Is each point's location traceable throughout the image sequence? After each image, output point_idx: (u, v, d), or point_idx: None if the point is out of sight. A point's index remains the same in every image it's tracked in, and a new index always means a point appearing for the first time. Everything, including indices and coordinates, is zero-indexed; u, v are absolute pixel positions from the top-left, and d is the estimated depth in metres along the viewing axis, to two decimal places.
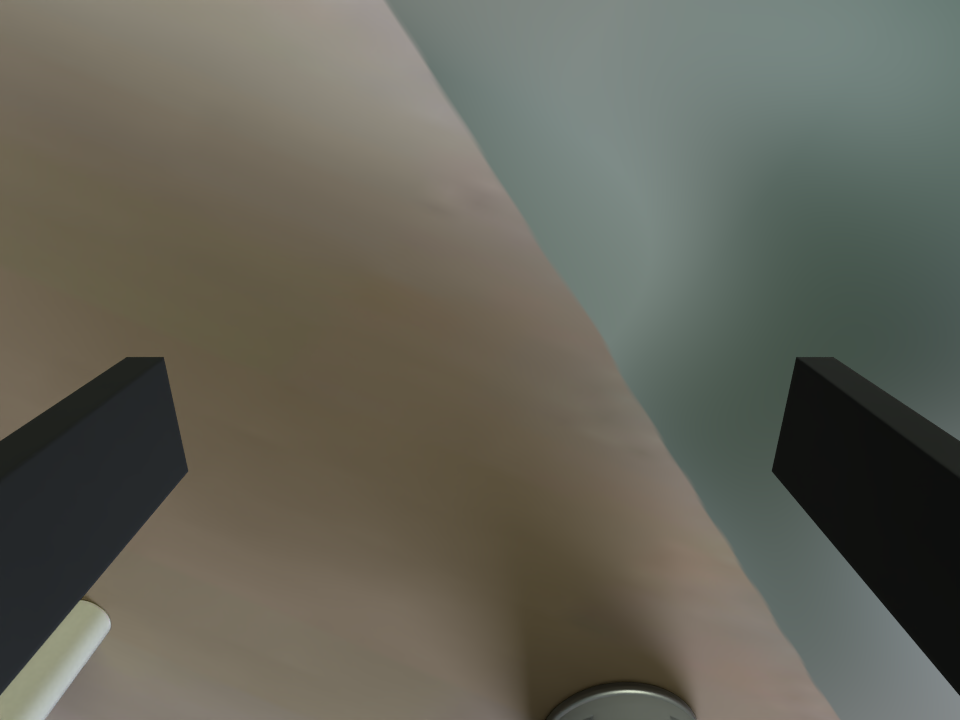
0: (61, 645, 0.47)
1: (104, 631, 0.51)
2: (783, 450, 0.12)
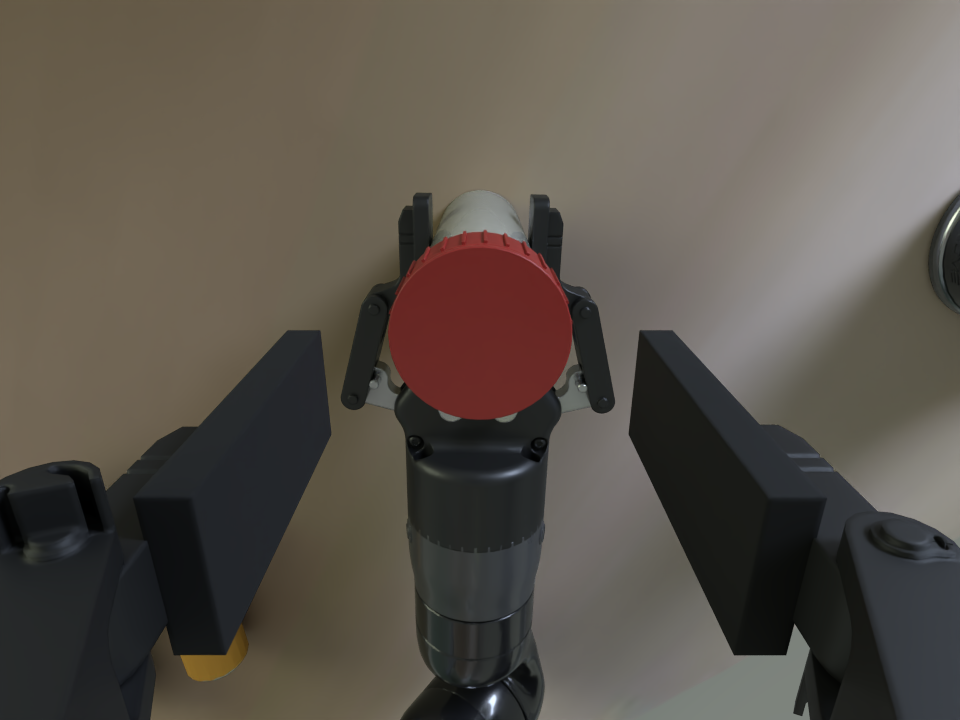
0: (440, 222, 0.29)
1: (483, 192, 0.32)
2: (633, 414, 0.14)
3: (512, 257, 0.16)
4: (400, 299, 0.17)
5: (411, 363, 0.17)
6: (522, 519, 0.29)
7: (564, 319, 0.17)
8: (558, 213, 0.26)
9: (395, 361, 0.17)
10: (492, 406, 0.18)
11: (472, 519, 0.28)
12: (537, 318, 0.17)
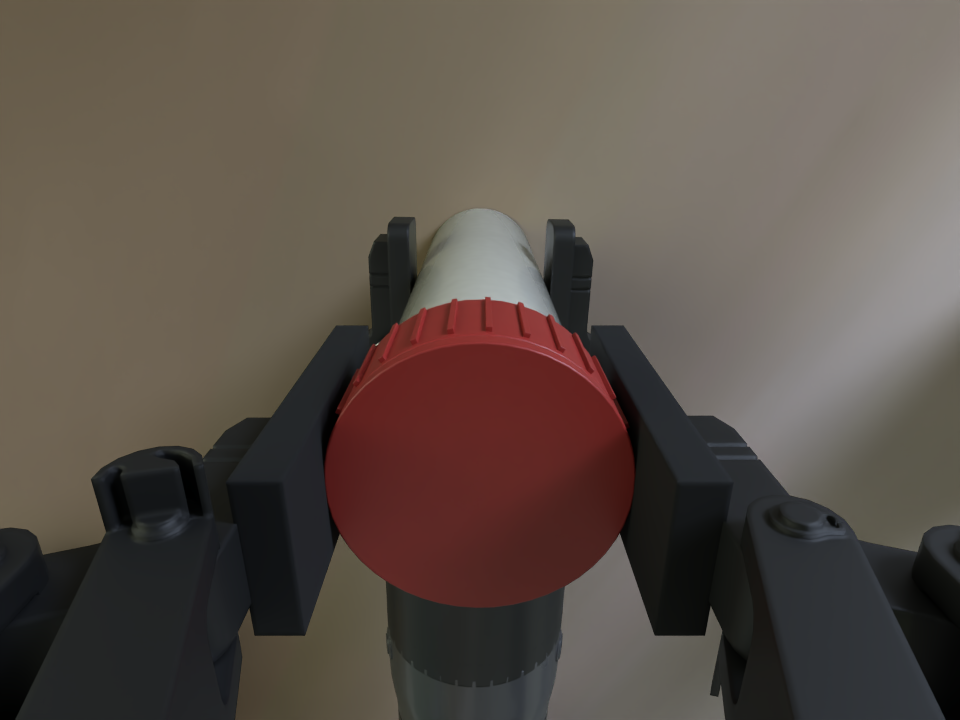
0: (428, 253, 0.22)
1: (483, 211, 0.25)
2: None
3: (536, 360, 0.09)
4: (342, 427, 0.10)
5: (363, 527, 0.10)
6: (535, 642, 0.23)
7: (623, 459, 0.10)
8: (586, 246, 0.19)
9: (337, 523, 0.10)
10: (499, 589, 0.11)
11: (469, 647, 0.22)
12: (577, 457, 0.10)
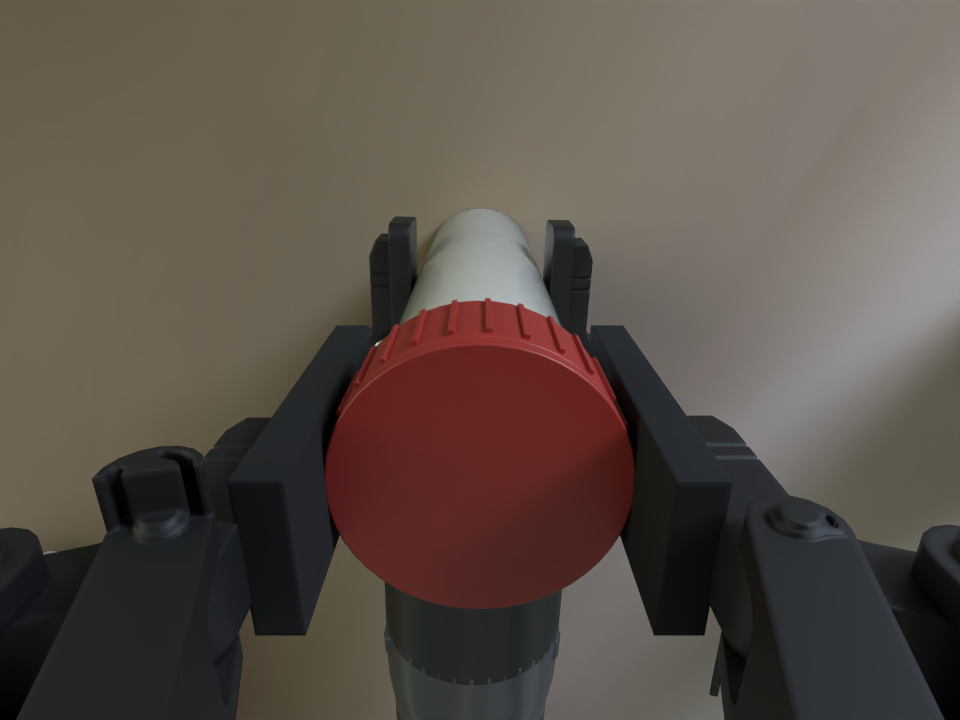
0: (428, 252, 0.22)
1: (484, 211, 0.25)
2: None
3: (334, 451, 0.10)
4: (423, 595, 0.11)
5: (529, 581, 0.11)
6: (533, 640, 0.23)
7: (433, 360, 0.09)
8: (586, 247, 0.19)
9: (525, 601, 0.11)
10: (608, 464, 0.10)
11: (467, 645, 0.22)
12: (435, 405, 0.09)
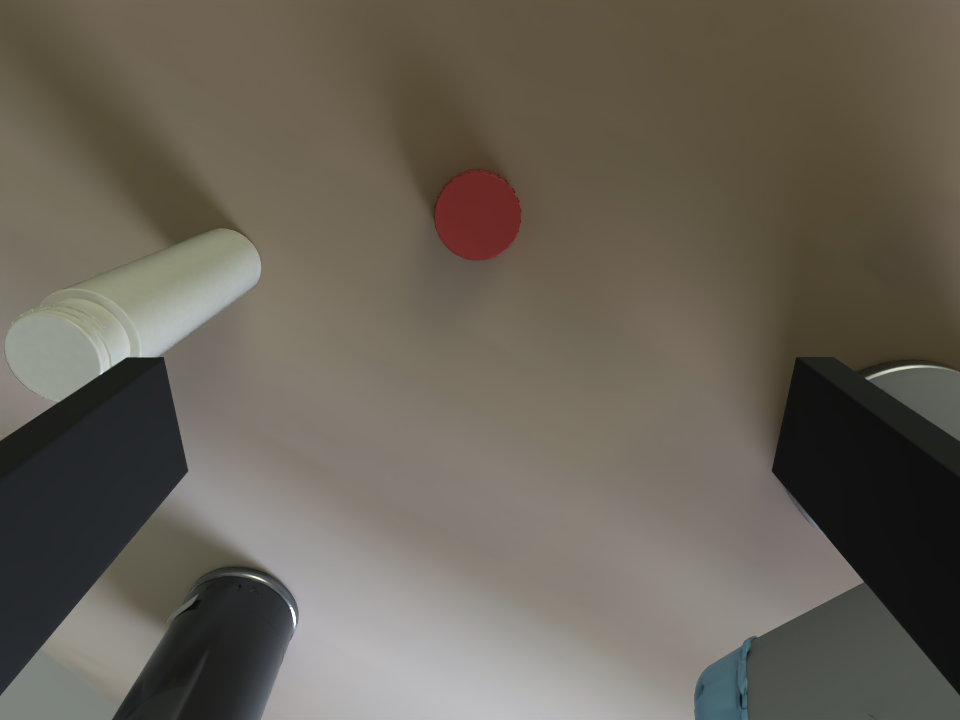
0: (216, 248, 0.35)
1: (256, 271, 0.39)
2: (783, 450, 0.12)
3: (436, 215, 0.36)
4: (470, 257, 0.37)
5: (499, 245, 0.37)
6: None
7: (456, 181, 0.35)
8: None
9: (499, 253, 0.37)
10: (510, 201, 0.36)
11: None
12: (460, 194, 0.36)
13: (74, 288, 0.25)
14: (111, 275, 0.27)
